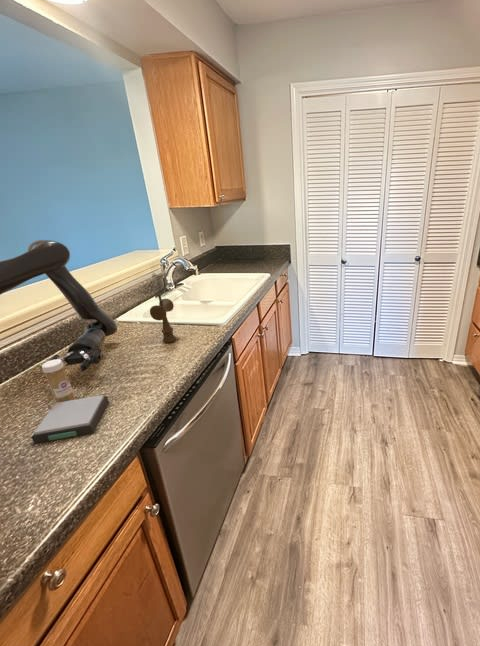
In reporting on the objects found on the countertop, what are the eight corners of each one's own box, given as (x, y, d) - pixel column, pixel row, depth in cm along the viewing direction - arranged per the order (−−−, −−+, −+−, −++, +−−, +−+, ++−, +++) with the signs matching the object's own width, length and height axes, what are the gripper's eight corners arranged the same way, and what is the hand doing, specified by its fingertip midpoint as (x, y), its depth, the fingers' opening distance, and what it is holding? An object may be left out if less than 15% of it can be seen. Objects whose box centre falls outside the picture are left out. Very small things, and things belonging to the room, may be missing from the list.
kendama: (157, 346, 124) (145, 297, 116) (166, 336, 133) (156, 289, 125) (173, 346, 124) (161, 296, 116) (181, 335, 133) (171, 288, 125)
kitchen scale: (33, 445, 78) (29, 435, 77) (58, 410, 90) (54, 402, 89) (92, 434, 80) (89, 424, 79) (108, 402, 92) (106, 393, 91)
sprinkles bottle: (66, 409, 90) (50, 367, 85) (53, 407, 91) (36, 366, 86) (80, 399, 94) (65, 359, 89) (67, 397, 96) (52, 357, 90)
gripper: (58, 340, 107) (34, 364, 92) (105, 334, 110) (89, 356, 95) (66, 360, 110) (43, 386, 95) (111, 353, 112) (96, 378, 98)
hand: (66, 371), depth 95 cm, fingers open, 8 cm apart
